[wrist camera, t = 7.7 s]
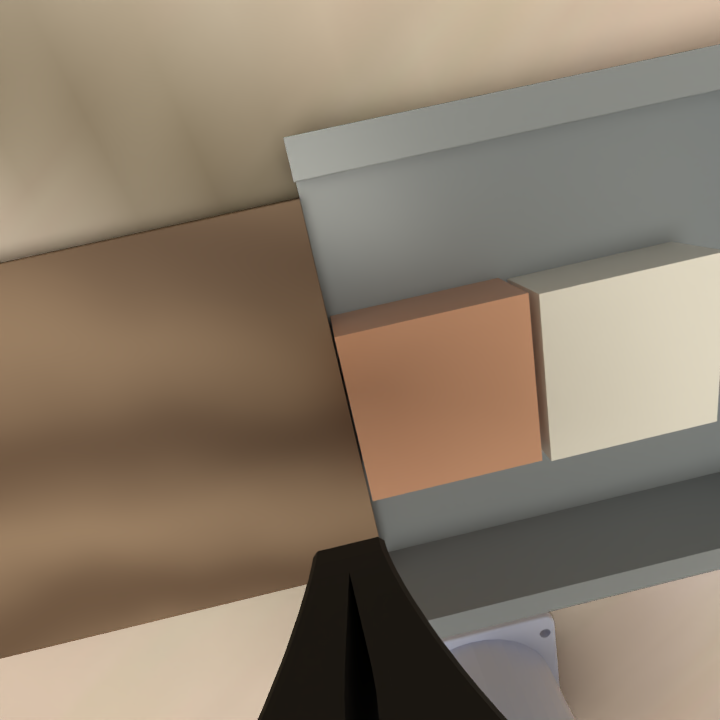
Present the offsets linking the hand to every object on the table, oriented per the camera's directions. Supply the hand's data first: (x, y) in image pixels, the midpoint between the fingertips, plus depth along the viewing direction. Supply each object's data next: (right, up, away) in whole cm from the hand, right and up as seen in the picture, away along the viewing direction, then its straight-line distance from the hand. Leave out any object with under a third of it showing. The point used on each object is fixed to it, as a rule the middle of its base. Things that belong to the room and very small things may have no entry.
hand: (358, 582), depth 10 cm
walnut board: (-8, +1, +8) cm, 12 cm away
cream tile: (+9, +5, +9) cm, 13 cm away
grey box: (+7, +5, +9) cm, 13 cm away
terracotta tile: (+3, +4, +8) cm, 10 cm away
